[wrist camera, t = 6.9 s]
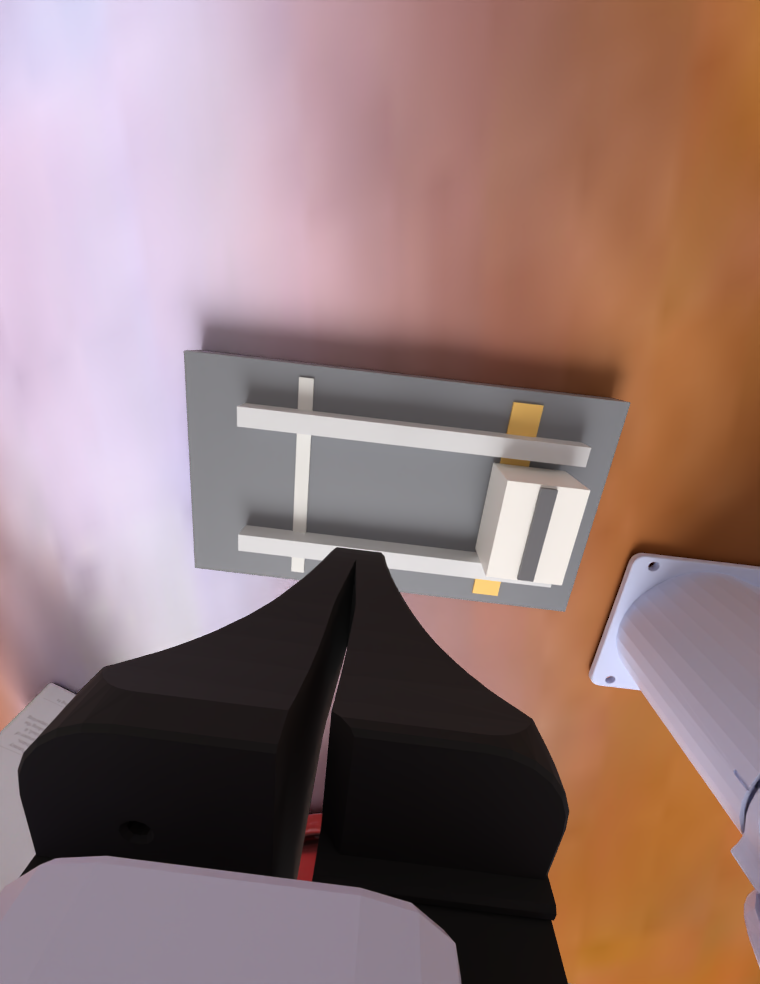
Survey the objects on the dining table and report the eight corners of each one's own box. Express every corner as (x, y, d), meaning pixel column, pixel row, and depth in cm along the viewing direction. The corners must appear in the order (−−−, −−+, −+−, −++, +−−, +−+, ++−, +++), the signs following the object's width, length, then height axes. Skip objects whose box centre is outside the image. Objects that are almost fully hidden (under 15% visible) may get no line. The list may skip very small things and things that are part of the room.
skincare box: (30, 719, 26) (-260, 1014, 14) (54, 674, 25) (-245, 961, 13) (120, 763, 27) (-85, 1070, 15) (147, 722, 26) (-56, 1026, 14)
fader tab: (565, 471, 17) (592, 491, 15) (541, 555, 18) (563, 587, 16) (493, 462, 17) (508, 481, 15) (475, 548, 18) (486, 578, 16)
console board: (611, 398, 18) (644, 406, 15) (553, 593, 21) (573, 624, 19) (200, 350, 18) (170, 350, 15) (208, 553, 21) (184, 578, 19)
